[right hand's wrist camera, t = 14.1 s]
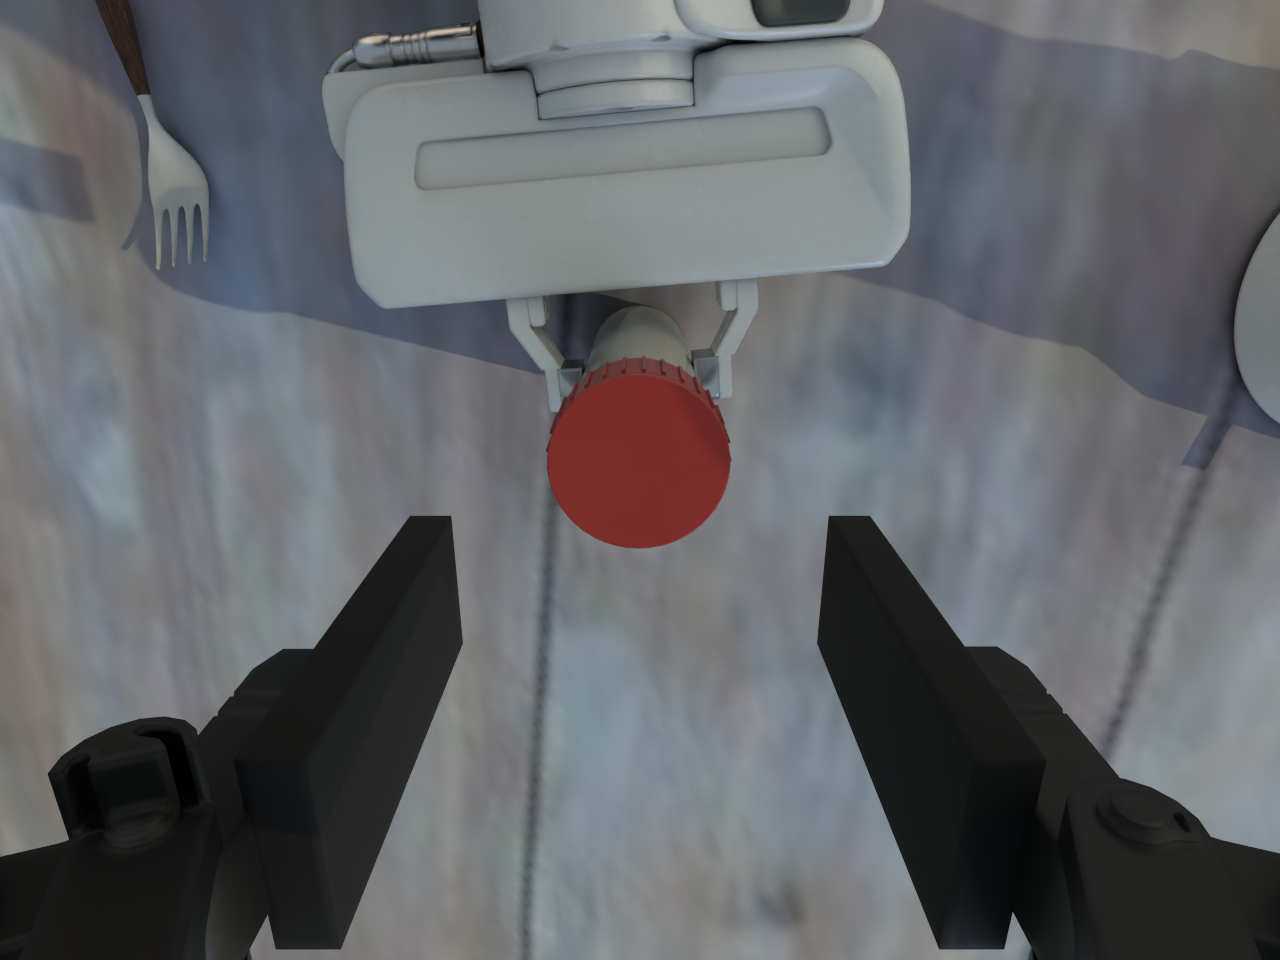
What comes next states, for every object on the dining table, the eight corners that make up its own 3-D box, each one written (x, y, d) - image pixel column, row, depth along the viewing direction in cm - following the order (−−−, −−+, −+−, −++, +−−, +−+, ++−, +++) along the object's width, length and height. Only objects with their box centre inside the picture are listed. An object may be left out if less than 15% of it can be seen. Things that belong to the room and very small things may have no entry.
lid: (576, 334, 22) (569, 349, 20) (746, 381, 23) (758, 401, 20) (536, 494, 24) (525, 525, 21) (695, 535, 24) (701, 570, 22)
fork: (95, -171, 29) (58, -197, 27) (233, 258, 35) (210, 261, 33) (31, -159, 29) (-11, -184, 27) (178, 266, 35) (152, 271, 33)
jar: (606, 294, 35) (581, 364, 20) (697, 320, 36) (738, 407, 21) (583, 384, 37) (543, 511, 22) (670, 408, 37) (691, 548, 22)
